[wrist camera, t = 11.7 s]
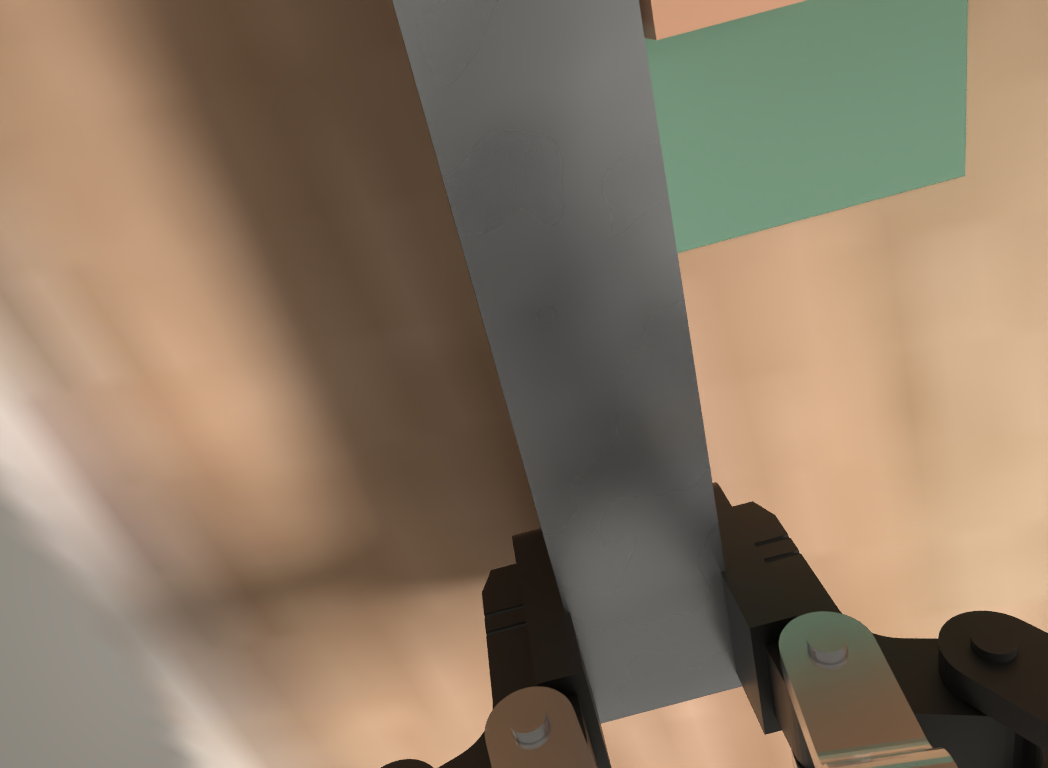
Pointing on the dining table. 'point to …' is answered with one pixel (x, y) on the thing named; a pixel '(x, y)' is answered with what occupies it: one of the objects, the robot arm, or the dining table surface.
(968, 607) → the dining table surface
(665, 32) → the block
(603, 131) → the crook
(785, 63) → the green flat plank
